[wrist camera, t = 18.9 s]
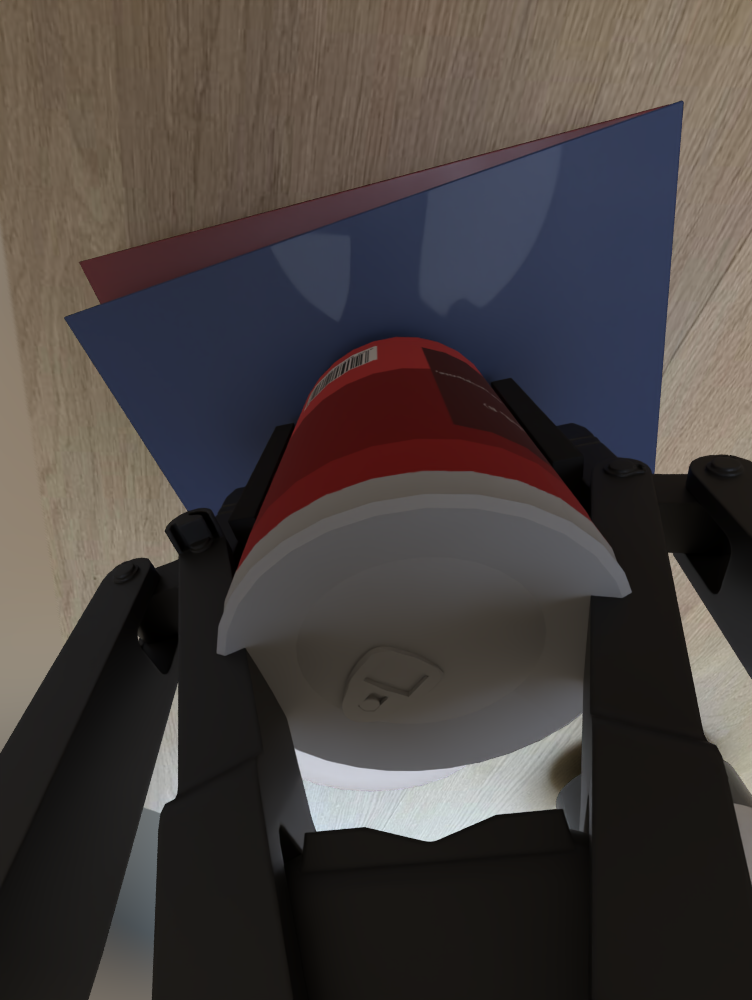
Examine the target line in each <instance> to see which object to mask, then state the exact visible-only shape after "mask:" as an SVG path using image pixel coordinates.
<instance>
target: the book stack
mask: <svg viewBox="0 0 752 1000" xmlns="http://www.w3.org/2000/svg"><path fill="white" fill-rule="evenodd" d="M683 104H684V102H683V101H679V102H676V103H673V104H670V105H665V106H661V107H657V108H654V109H650V110H646V111H642V112H639V113H635V114H631V115H627V116H624V117H620V118H616V119H613V120H609V121H605V122H601V123H598V124H594V125H590V126H586V127H583V128H579V129H575V130H571V131H568V132H564V133H560V134H556V135H553V136H549V137H545V138H541V139H538V140H534V141H530V142H526V143H523V144H519V145H515V146H511V147H508V148H504V149H500V150H496V151H493V152H489V153H485V154H481V155H478V156H474V157H470V158H466V159H463V160H459V161H455V162H452V163H448V164H444V165H440V166H437V167H433V168H429V169H425V170H422V171H418V172H414V173H410V174H407V175H403V176H399V177H395V178H392V179H388V180H384V181H380V182H377V183H373V184H369V185H365V186H362V187H358V188H354V189H350V190H347V191H343V192H339V193H335V194H332V195H328V196H324V197H320V198H317V199H313V200H309V201H305V202H302V203H298V204H294V205H291V206H287V207H283V208H279V209H276V210H272V211H268V212H264V213H261V214H257V215H253V216H249V217H246V218H242V219H238V220H234V221H231V222H227V223H223V224H219V225H216V226H212V227H208V228H204V229H201V230H197V231H193V232H189V233H186V234H182V235H178V236H174V237H171V238H167V239H163V240H159V241H156V242H152V243H148V244H144V245H141V246H137V247H133V248H130V249H126V250H122V251H118V252H115V253H111V254H107V255H103V256H100V257H96V258H92V259H88V260H85V261H81V262H79V263H80V265H81V267H82V269H83V271H84V273H85V275H86V277H87V279H88V281H89V282H90V284H91V286H92V288H93V290H94V292H95V294H96V296H97V298H98V300H99V302H100V305H97V306H94V307H91V308H89V309H86V310H83V311H80V312H77V313H74V314H71V315H69V316H66V317H65V318H64V319H65V320H66V322H67V324H68V325H69V327H70V328H71V330H72V331H73V333H74V334H75V336H76V338H77V339H78V341H79V342H80V344H81V345H82V347H83V349H84V350H85V352H86V353H87V355H88V356H89V358H90V359H91V361H92V363H93V364H94V366H95V367H96V369H97V370H98V372H99V374H100V375H101V377H102V378H103V380H104V381H105V383H106V384H107V386H108V388H109V389H110V391H111V392H112V394H113V395H114V397H115V399H116V400H117V402H118V403H119V405H120V406H121V408H122V409H123V411H124V413H125V414H126V416H127V417H128V419H129V420H130V422H131V424H132V425H133V427H134V428H135V430H136V431H137V433H138V434H139V436H140V438H141V439H142V441H143V442H144V444H145V445H146V447H147V449H148V450H149V452H150V453H151V455H152V456H153V458H154V459H155V461H156V463H157V464H158V466H159V467H160V469H161V470H162V472H163V474H164V475H165V477H166V478H167V480H168V481H169V483H170V484H171V486H172V488H173V489H174V491H175V492H176V494H177V495H178V497H179V499H180V500H181V502H182V503H183V505H184V506H185V508H186V509H187V511H190V510H194V509H197V508H208V509H211V510H212V512H213V513H214V515H215V517H216V515H218V514H217V513H218V511H219V510H220V508H222V507H221V506H222V504H223V502H224V501H225V499H226V497H227V496H228V495H229V494H231V493H232V492H233V491H234V490H235V489H236V488H241V487H245V486H246V484H247V482H248V480H249V478H250V476H251V474H252V472H253V470H254V468H255V466H256V465H257V463H258V461H259V459H260V457H261V455H262V453H263V451H264V449H265V447H266V445H267V443H268V441H269V439H270V437H271V435H272V433H273V431H274V429H275V427H276V426H280V425H285V424H290V423H294V425H295V426H296V424H297V421H298V419H299V417H300V414H301V412H302V410H303V407H304V405H305V403H306V400H307V398H308V395H309V394H310V392H311V391H312V389H313V388H314V386H315V384H316V383H317V381H318V380H319V378H320V377H321V376H322V375H323V374H324V373H325V372H326V371H327V370H328V369H329V368H330V367H331V366H332V365H333V364H334V363H335V362H336V361H338V360H339V359H340V358H342V357H343V356H345V355H346V354H348V353H349V352H351V351H352V350H354V349H357V348H359V347H361V346H364V345H366V344H369V343H371V342H373V341H378V340H383V339H388V338H393V337H418V338H423V339H427V340H431V341H435V342H439V343H441V344H443V345H445V346H447V347H449V348H452V349H454V350H456V351H458V352H459V353H460V354H461V355H463V356H464V357H465V358H466V359H468V360H469V361H470V362H471V363H473V364H474V365H475V367H476V368H477V369H478V371H479V372H480V373H481V375H482V376H483V377H484V378H485V380H486V381H487V382H488V384H489V385H490V386H491V382H493V381H497V380H502V379H507V378H512V379H513V380H514V381H515V382H516V383H517V384H518V385H519V386H520V388H521V389H522V390H523V391H524V392H525V393H526V394H527V395H528V396H529V397H530V398H531V399H532V400H533V402H534V403H535V404H536V405H537V406H538V407H539V408H540V409H541V410H542V411H543V412H544V413H545V414H546V415H547V417H548V418H549V419H550V420H551V421H552V422H553V423H554V424H555V425H556V426H558V425H564V424H569V423H575V424H577V425H580V426H583V427H585V428H587V429H588V430H589V431H590V432H591V433H592V434H593V435H594V437H595V436H596V437H597V438H598V439H599V440H600V442H602V443H603V444H604V445H605V446H606V447H607V448H608V449H610V450H611V451H612V452H613V453H614V454H615V455H616V456H617V457H621V458H631V459H635V460H639V461H641V462H643V463H645V464H647V465H648V466H649V467H650V469H651V470H652V474H654V472H655V459H656V447H657V434H658V421H659V409H660V396H661V383H662V370H663V358H664V345H665V332H666V320H667V307H668V294H669V282H670V269H671V256H672V244H673V231H674V218H675V206H676V193H677V180H678V167H679V155H680V142H681V129H682V117H683Z"/></svg>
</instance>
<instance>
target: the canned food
mask: <svg viewBox="0 0 752 1000" xmlns="http://www.w3.org/2000/svg"><path fill="white" fill-rule="evenodd" d="M631 592H632V591H631V589H630V586H629V583H628V580H627V577H626V575H625V572H624V571H623V569H622V568H621V567H620V565H619V564H618V563H617V560H616V558H615V555H614V552H613V550H612V548H611V546H610V545H609V543H608V542H607V541H606V539H605V538H604V537H603V535H602V534H601V533H600V531H599V530H598V529H597V527H596V526H595V525H594V523H593V522H592V521H591V519H590V517H589V516H588V514H587V512H586V511H585V509H584V508H583V507H582V505H581V504H580V503H579V501H578V500H577V499H576V498H575V496H574V495H573V494H572V492H571V491H570V490H569V488H568V487H567V486H566V484H565V483H564V482H563V480H562V479H561V478H560V477H559V475H558V474H557V473H556V471H555V470H554V469H553V467H552V466H551V465H550V463H549V462H548V461H547V460H546V458H545V457H544V456H543V454H542V453H541V452H540V450H539V449H538V448H537V446H536V445H535V444H534V443H533V441H532V440H531V439H530V437H529V436H528V435H527V433H526V432H525V431H524V429H523V428H522V427H521V426H520V424H519V423H518V422H517V420H516V419H515V418H514V416H513V415H512V414H511V412H510V411H509V410H508V409H507V407H506V406H505V405H504V403H503V402H502V401H501V399H500V398H499V397H498V395H497V394H496V393H495V392H494V390H493V389H492V388H491V386H490V385H489V384H488V382H487V381H486V380H485V378H484V377H483V376H482V375H481V373H480V372H479V371H478V369H477V368H476V367H475V365H474V364H473V363H471V362H470V361H469V360H468V359H466V358H465V357H464V356H463V355H461V354H460V353H459V352H458V351H456V350H454V349H452V348H449V347H447V346H445V345H443V344H441V343H439V342H435V341H431V340H427V339H423V338H418V337H393V338H388V339H383V340H378V341H373V342H371V343H369V344H366V345H364V346H361V347H359V348H357V349H354V350H352V351H351V352H349V353H348V354H346V355H345V356H343V357H342V358H340V359H339V360H338V361H336V362H335V363H334V364H333V365H332V366H331V367H330V368H329V369H328V370H327V371H326V372H325V373H324V374H323V375H322V376H321V377H320V378H319V380H318V381H317V383H316V384H315V386H314V388H313V389H312V391H311V392H310V394H309V395H308V398H307V400H306V403H305V405H304V407H303V410H302V412H301V414H300V417H299V419H298V421H297V424H296V426H295V429H294V431H293V433H292V436H291V438H290V440H289V443H288V445H287V448H286V450H285V452H284V455H283V457H282V459H281V462H280V464H279V466H278V469H277V471H276V474H275V476H274V478H273V481H272V483H271V485H270V488H269V490H268V493H267V495H266V497H265V500H264V502H263V504H262V507H261V509H260V511H259V514H258V516H257V519H256V521H255V523H254V526H253V528H252V530H251V533H250V535H249V538H248V541H247V543H246V546H245V549H244V551H243V554H242V556H241V559H240V562H239V565H238V568H237V570H236V572H235V575H234V578H233V580H232V583H231V586H230V588H229V591H228V594H227V596H226V599H225V602H224V613H223V616H222V618H221V621H220V623H219V626H218V639H217V654H221V655H224V656H226V655H228V654H231V653H233V652H236V651H238V650H240V649H243V648H246V650H247V651H248V653H249V654H250V656H251V658H252V659H253V661H254V662H255V664H256V665H257V667H258V669H259V670H260V672H261V673H262V675H263V677H264V678H265V680H266V682H267V683H268V685H269V687H270V689H271V690H272V692H273V694H274V696H275V697H276V699H277V701H278V703H279V704H280V706H281V708H282V710H283V712H284V714H285V715H286V717H287V720H288V724H289V728H290V732H291V737H292V741H293V745H294V748H295V749H296V750H298V751H301V752H304V753H306V754H309V755H312V756H315V757H318V758H321V759H323V760H326V761H330V762H335V763H339V764H344V765H348V766H353V767H357V768H366V769H375V770H384V771H425V770H436V769H447V768H453V767H458V766H464V765H469V764H474V763H479V762H483V761H486V760H489V759H493V758H496V757H499V756H502V755H506V754H509V753H512V752H514V751H516V750H519V749H521V748H523V747H526V746H528V745H531V744H533V743H535V742H538V741H540V740H542V739H544V738H545V737H547V736H549V735H551V734H552V733H554V732H556V731H557V730H559V729H561V728H563V727H564V726H566V725H568V724H569V723H571V722H572V721H573V720H574V719H576V718H577V717H578V716H579V715H581V714H582V713H583V679H584V666H585V654H586V641H587V630H588V618H589V607H590V597H591V595H594V596H606V597H617V598H623V597H625V596H627V595H628V594H630V593H631Z"/></svg>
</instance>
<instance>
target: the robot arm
mask: <svg viewBox="0 0 752 1000" xmlns="http://www.w3.org/2000/svg"><path fill="white" fill-rule="evenodd" d="M491 388H492V389H493V390H494V392H495V393H496V394H497V395H498V397H499V398H500V399H501V401H502V402H503V403H504V405H505V406H506V407H507V409H508V410H509V411H510V412H511V414H512V415H513V416H514V418H515V419H516V420H517V422H518V423H519V424H520V426H521V427H522V428H523V429H524V431H525V432H526V433H527V435H528V436H529V437H530V439H531V440H532V441H533V443H534V444H535V445H536V446H537V448H538V449H539V450H540V452H541V453H542V454H543V456H544V457H545V458H546V460H547V461H548V462H549V463H550V465H551V466H552V467H553V469H554V470H555V471H556V473H557V474H558V475H559V477H560V478H561V479H562V480H563V482H564V483H565V484H566V486H567V487H568V488H569V490H570V491H571V492H572V494H573V495H574V496H575V498H576V499H577V500H578V501H579V503H580V504H581V505H582V507H583V508H584V509H585V511H586V512H587V514H588V516H589V517H590V519H591V521H592V522H593V523H594V525H595V526H596V527H597V529H598V530H599V531H600V533H601V534H602V535H603V537H604V538H605V539H606V541H607V542H608V543H609V545H610V546H611V548H612V550H613V552H614V555H615V558H616V560H617V563H618V564H619V565H620V567H621V568H622V569H623V571H624V572H625V575H626V577H627V580H628V583H629V586H630V589H631V591H632V592H631V593H630V594H628V595H627V596H625V597H623V598H617V597H606V596H594V595H591V597H590V607H589V618H588V630H587V641H586V654H585V666H584V679H583V721H582V772H581V807H580V826H579V831H577V830H573V829H569V826H568V823H567V820H566V817H565V814H564V811H563V809H553V810H543V811H532V812H521V813H511V814H500V815H495V816H492V817H490V818H488V819H486V820H483V821H481V822H479V823H476V824H474V825H472V826H469V827H467V828H465V829H462V830H460V831H458V832H455V833H453V834H451V835H449V836H446V837H444V838H442V839H439V840H437V841H432V842H426V841H421V840H417V839H413V838H408V837H404V836H400V835H396V834H391V833H387V832H383V831H379V830H375V829H370V828H366V827H361V828H351V829H340V830H329V831H319V832H316V830H315V827H314V824H313V821H312V817H311V814H310V810H309V805H308V801H307V797H306V793H305V789H304V785H303V781H302V777H301V773H300V769H299V765H298V761H297V757H296V753H295V749H294V745H293V741H292V737H291V732H290V728H289V724H288V720H287V717H286V715H285V714H284V712H283V710H282V708H281V706H280V704H279V703H278V701H277V699H276V697H275V696H274V694H273V692H272V690H271V689H270V687H269V685H268V683H267V682H266V680H265V678H264V677H263V675H262V673H261V672H260V670H259V669H258V667H257V665H256V664H255V662H254V661H253V659H252V658H251V656H250V654H249V653H248V651H247V650H246V648H243V649H240V650H238V651H236V652H233V653H231V654H228V655H226V656H224V655H221V654H217V639H218V626H219V623H220V621H221V618H222V616H223V613H224V602H225V599H226V596H227V594H228V591H229V588H230V586H231V583H232V580H233V578H234V575H235V572H236V570H237V568H238V565H239V562H240V559H241V556H242V554H243V551H244V549H245V546H246V543H247V541H248V538H249V535H250V533H251V530H252V528H253V526H254V523H255V521H256V519H257V516H258V514H259V511H260V509H261V507H262V504H263V502H264V500H265V497H266V495H267V493H268V490H269V488H270V485H271V483H272V481H273V478H274V476H275V474H276V471H277V469H278V466H279V464H280V462H281V459H282V457H283V455H284V452H285V450H286V448H287V445H288V443H289V440H290V438H291V436H292V433H293V431H294V429H295V425H294V423H290V424H285V425H280V426H276V427H275V429H274V431H273V433H272V435H271V437H270V439H269V441H268V443H267V445H266V447H265V449H264V451H263V453H262V455H261V457H260V459H259V461H258V463H257V465H256V466H255V468H254V470H253V472H252V474H251V476H250V478H249V480H248V482H247V484H246V486H245V487H241V488H236V489H235V490H234V491H233V492H232V493H231V494H229V495H228V496H227V497H226V499H225V501H224V502H223V504H222V506H221V507H222V508H220V510H219V511H218V513H217V514H218V515H216V517H215V515H214V513H213V512H212V510H211V509H208V508H197V509H194V510H190V511H188V512H185V513H183V514H181V515H179V516H178V517H176V518H175V519H173V520H172V521H171V522H170V523H169V524H168V525H167V527H166V529H165V533H166V534H167V536H168V538H169V539H170V541H171V543H172V544H173V546H174V547H175V549H176V551H177V552H178V554H179V559H178V560H176V561H173V562H171V563H168V564H165V565H163V566H160V567H157V568H154V566H153V565H152V563H151V562H150V560H149V559H147V558H136V559H132V560H130V561H126V562H123V563H121V565H118V566H116V567H115V568H114V569H113V570H112V571H111V572H110V573H108V574H107V576H106V577H105V578H104V579H103V581H102V582H101V584H100V586H99V587H98V589H97V591H96V592H95V594H94V596H93V598H92V599H91V601H90V603H89V604H88V606H87V608H86V609H85V611H84V613H83V614H82V616H81V618H80V619H79V621H78V623H77V625H76V626H75V628H74V630H73V631H72V633H71V635H70V636H69V638H68V640H67V641H66V643H65V645H64V646H63V648H62V650H61V652H60V653H59V655H58V657H57V658H56V660H55V662H54V663H53V665H52V667H51V668H50V670H49V672H48V674H47V675H46V677H45V679H44V680H43V682H42V684H41V685H40V687H39V689H38V690H37V692H36V694H35V695H34V697H33V699H32V701H31V702H30V704H29V706H28V707H27V709H26V711H25V713H24V714H23V716H22V718H21V719H20V721H19V723H18V724H17V726H16V728H15V729H14V731H13V733H12V734H11V736H10V738H9V740H8V741H7V743H6V744H5V746H4V748H3V750H2V752H1V753H0V1000H88V999H89V996H90V992H91V989H92V986H93V983H94V980H95V977H96V973H97V970H98V967H99V964H100V960H101V957H102V954H103V951H104V947H105V943H106V940H107V936H108V933H109V929H110V925H111V922H112V918H113V914H114V911H115V907H116V904H117V900H118V896H119V893H120V889H121V885H122V882H123V879H124V875H125V871H126V868H127V864H128V861H129V857H130V853H131V850H132V846H133V842H134V838H135V835H136V831H137V828H138V824H139V821H140V817H141V813H142V810H143V806H144V803H145V799H146V796H147V792H148V788H149V785H150V781H151V778H152V774H153V770H154V767H155V763H156V760H157V756H158V752H159V749H160V745H161V742H162V738H163V734H164V731H165V727H166V723H167V720H168V716H169V713H170V709H171V705H172V702H173V698H174V695H175V691H176V687H177V684H178V792H177V796H176V798H175V799H174V800H172V801H170V802H168V803H166V804H165V805H164V808H163V810H162V812H161V814H160V821H159V829H158V853H157V879H156V907H155V931H154V932H155V933H154V959H153V984H152V987H153V988H152V1000H752V883H751V879H750V875H749V870H748V866H747V861H746V857H745V852H744V848H743V843H742V839H741V834H740V830H739V825H738V821H737V816H736V812H735V807H734V803H733V799H732V794H731V790H730V785H729V781H728V776H727V772H726V769H725V765H724V762H723V758H722V755H721V753H720V752H719V750H718V748H717V746H716V745H714V744H712V743H709V742H708V741H707V739H706V738H705V735H704V731H703V728H702V723H701V718H700V713H699V708H698V703H697V697H696V692H695V687H694V682H693V677H692V672H691V667H690V662H689V657H688V652H687V647H686V642H685V637H684V632H683V627H682V622H681V617H680V612H679V607H678V602H677V597H676V591H675V586H674V581H673V576H672V571H671V566H670V561H669V556H668V553H673V555H674V557H675V559H676V560H677V562H678V563H679V565H680V567H681V568H682V570H683V571H684V573H685V574H686V576H687V578H688V579H689V581H690V582H691V584H692V586H693V587H694V589H695V590H696V592H697V593H698V595H699V597H700V598H701V600H702V601H703V603H704V605H705V606H706V608H707V609H708V611H709V612H710V614H711V616H712V617H713V619H714V620H715V622H716V623H717V625H718V627H719V628H720V630H721V631H722V633H723V635H724V636H725V638H726V639H727V641H728V642H729V644H730V646H731V647H732V649H733V650H734V652H735V654H736V655H737V657H738V658H739V660H740V661H741V663H742V665H743V666H744V668H745V669H746V671H747V673H748V674H749V676H750V677H751V679H752V462H751V461H749V460H746V459H743V458H739V457H737V456H732V455H730V456H728V455H709V456H704V457H699V458H697V459H695V460H693V461H692V462H691V464H690V466H689V470H688V474H652V470H651V469H650V467H649V466H648V465H647V464H645V463H643V462H641V461H639V460H635V459H631V458H621V457H617V456H616V455H615V454H614V453H613V452H612V451H611V450H610V449H608V448H607V447H606V446H605V445H604V444H603V443H602V442H600V440H599V439H598V438H597V437H596V436H595V437H594V435H593V434H592V433H591V432H590V431H589V430H588V429H587V428H585V427H583V426H580V425H577V424H575V423H569V424H564V425H558V426H556V425H555V424H554V423H553V422H552V421H551V420H550V419H549V418H548V417H547V415H546V414H545V413H544V412H543V411H542V410H541V409H540V408H539V407H538V406H537V405H536V404H535V403H534V402H533V400H532V399H531V398H530V397H529V396H528V395H527V394H526V393H525V392H524V391H523V390H522V389H521V388H520V386H519V385H518V384H517V383H516V382H515V381H514V380H513V379H512V378H507V379H502V380H497V381H493V382H491ZM138 636H139V637H140V638H139V641H138Z"/></svg>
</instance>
